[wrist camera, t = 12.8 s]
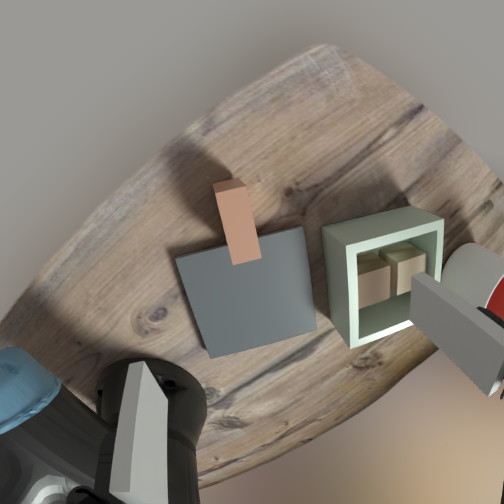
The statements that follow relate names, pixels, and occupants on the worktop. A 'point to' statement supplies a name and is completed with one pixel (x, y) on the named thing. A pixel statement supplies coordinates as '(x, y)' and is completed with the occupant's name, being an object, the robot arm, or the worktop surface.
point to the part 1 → (372, 279)
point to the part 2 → (403, 265)
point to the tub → (371, 240)
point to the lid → (248, 280)
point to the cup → (476, 277)
